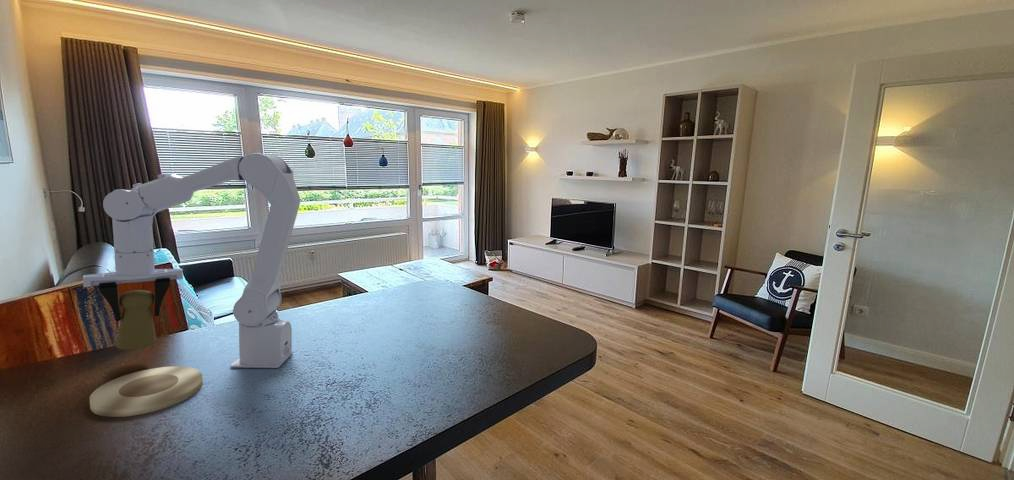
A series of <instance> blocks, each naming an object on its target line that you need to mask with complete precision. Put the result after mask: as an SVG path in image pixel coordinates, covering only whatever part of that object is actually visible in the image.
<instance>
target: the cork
mask: <svg viewBox="0 0 1014 480" xmlns="http://www.w3.org/2000/svg"><path fill="white" fill-rule="evenodd" d="M119 304H120V308H122V312H121V321H120V325H119V330H118V334H117V335H118V336H117V341H116V349H119V350H124V351H127V350H138V349H144V348H149V347H151V346H155V344H156V343H157V335H156V330H155V323H154V318H153V312H152V305H153V304H155V293H153V292H152V291H150V290H146V289H136V290H135V289H134V290H133V289H132V290H129V291H125V292H124V293H122V294H121V295H120V297H119Z"/></svg>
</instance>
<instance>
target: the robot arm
mask: <svg viewBox="0 0 1014 480" xmlns="http://www.w3.org/2000/svg"><path fill="white" fill-rule="evenodd" d="M230 181H237V182H238V181H239V182H240V181H243V182H246V183H247V184H248V185H250V186H252V187H253V188H255V189H256V190H258V191H259V192H260V193H261V194H262V195H263V197H264V198H265V199H266V200H267V201H268V203H269V204H270V207H269V210H268V214H267V217H266V221H265V225H264V228H263V233H262V236H261V239H260V243H259V247H258V251H257V255H256V258H255V263H254V265H253V270H252V273H251V277H250V279H249V280H248V282H247V283H246V285H245V287H244V288H243V292H242V295H241V296H240V298H239V299H237V300H236V302H235V303H234V305H233V307H232V308H233V309H232V313H233V314H232V315H233V316H234V318H235V320H236V321H237V322H238V338H239V339H238V342H239V345H238V347H239V348H238V349H239V358H237V359H236V360H235V361H233V362H232V363H231V364H230V368H240V369H242V368H246V369H247V368H248V369H249V368H250V369H251V368H257V369H262V368H263V369H278V368H280V367H281V366H282V365H283V364H284V363H285V361H287V360H288V358H289V357H291V355H292V354H293V353H294V351H293V349H292V347H293V344H292V343H293V340H292V339H293V336H292V335H293V334H292V333H293V330H292V324H291V322H290V321H287V320H282V319H280V318H279V314H278V312H277V310H278V308H279V307H280V306H281V304H282V298H283V297H282V294H281V287H282V282H281V280H280V278H281V274H282V269H283V267H284V262H285V259H286V256H287V252H288V249H289V244H290V241H291V237H292V234H293V230H294V226H295V223H296V219H297V216H298V213H299V208H300V205H301V197H300V193H299V191H298V188H297V185H296V182H295V179H294V171H293V169H292V167H290V166H289V164H288V163H287V162H286V161H285V160H284V159H282V157H279V156H277V155H267V154H264V153H260V152H253V153H249V154H247V155H245V156H243V155H242V156H236V157H233V158H230V159H227V160H224V161H222V162H220V163H216V164H214V165H211V166H209V167H206V168H204V169H201V170H199V171H196V172H193V173H192V174H189V175H186V176H181V175H178V174H175V173H172V174H169V173H161V174H158V175H157V179H154V180H151V181H147V182H145V183H141V182H140V183H139V182H138V183H134V184H132V188H131V189H118V188H117V189H114V190H113V191H111V192H109V193H108V194H106V196H105V197H104V199H103V202H102V207H103V210H104V213H106V215H108V217H110V218H111V219H112V220H111V221H112V234H113V249H114V264H115V265H114V266H115V267H114V268H115V271H111V272H103V273H102V272H101V273H93V274H91V273H90V274H84V275H83V276H82V285H83V286H82V287H83V288H88V287H89V288H90V287H93V286H99V289H98V291H99V292H100V294H101V296H103V298H104V299H105V300H106V302H107V303H108V305H109V307H110V308H111V310H112V312H113V314H114V317H115V321H116V322H119V321H120V322H121V318H122V311H121V305H120V303H119V299H120V297H119V293H120V291H119V285H120V284H131V283H144V282H153V283H154V308H153V309H154V317H159V316H160V311H161V306H162V303H163V300H164V297H165V295H166V294H167V292H168V289H169V288H170V286H171V280H184V274H183V273H184V272H183V271H184V270H183V268H155V253H154V252H155V251H154V233H153V224H154V220H153V219H154V216H155V215H156V214H157V213H160V212H162V211H164V210H167V209H170V208H173V207H176V206H179V205H181V204H184V203H187V202H189V201H191V200H192V198H193V195H194V194H195V193H196V192H198V191H202V190H205V189H208V188H210V187H214V186H217V185H220V184H223V183H228V182H230Z"/></svg>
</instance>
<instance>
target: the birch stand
mask: <svg viewBox="0 0 1014 480" xmlns="http://www.w3.org/2000/svg"><path fill="white" fill-rule="evenodd" d="M202 387H203V373H202V372H201V371H200V370H198V369H197V368H194V367H190V366H178V365H177V366H172V365H171V366H162V367H154V368H153V367H152V368H149V369H143V370H138V371H135V372H132V373H128V374H125V375H122V376H120V377H117V378H114V379H112V380H110V381H107V382H106V383H103V384H102V385H99V387H97V388H96V389H95V390H94V391H93V392H92V393H90V395H89V398H88V399H89V409H90V411H91V413H93V414H95V415H96V416H97V415H98V416H101V417H106V418H124V417H125V418H126V417H132V416H133V417H134V416H139V415H144V414H148V413H154V412H156V411H161V410H163V409H167V408H170V407H173V406H175V405H177V404H179V403H182V402H183V401H185V400H188V399H189V398H190V397H191V398H192V397H193V396H194V395H196V393H198V392H199V390H200V389H201V388H202Z"/></svg>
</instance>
